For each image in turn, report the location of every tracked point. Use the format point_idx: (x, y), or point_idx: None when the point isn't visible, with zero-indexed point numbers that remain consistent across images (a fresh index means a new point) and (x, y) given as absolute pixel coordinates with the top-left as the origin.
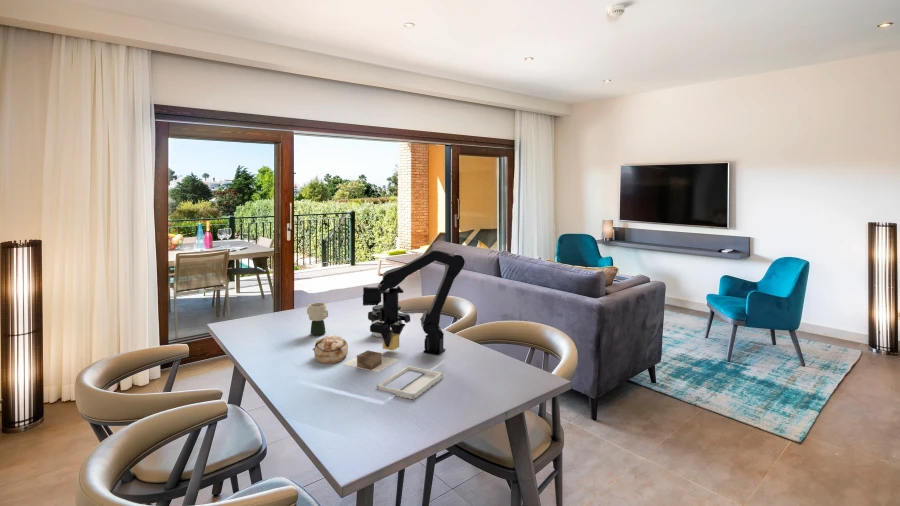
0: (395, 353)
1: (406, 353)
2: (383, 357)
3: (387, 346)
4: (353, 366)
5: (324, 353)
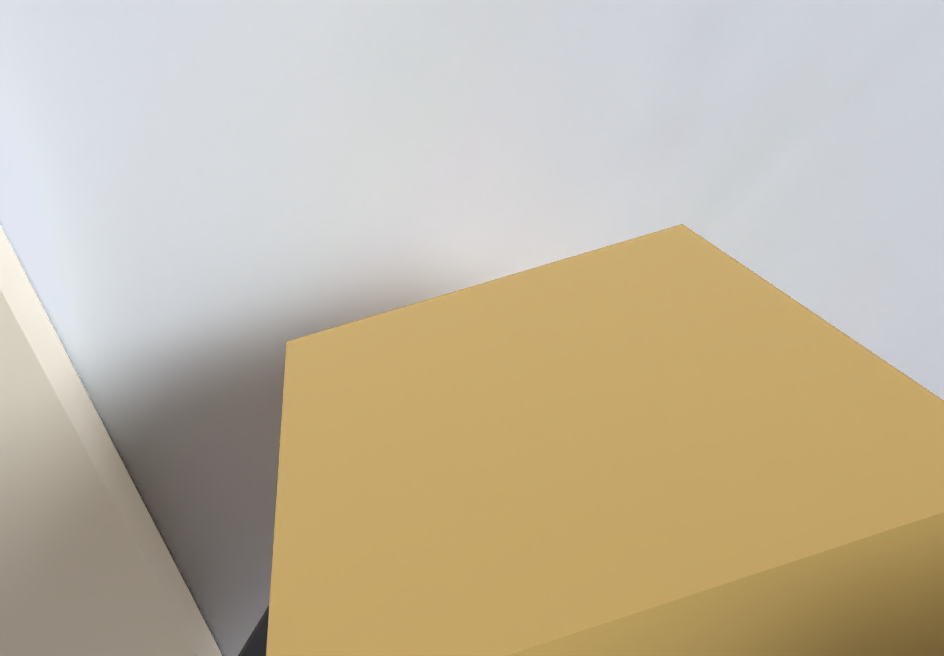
0: None
1: None
2: (85, 573)
3: None
4: None
5: None
